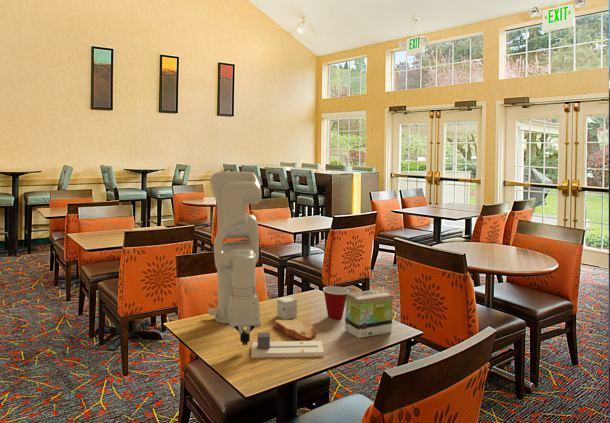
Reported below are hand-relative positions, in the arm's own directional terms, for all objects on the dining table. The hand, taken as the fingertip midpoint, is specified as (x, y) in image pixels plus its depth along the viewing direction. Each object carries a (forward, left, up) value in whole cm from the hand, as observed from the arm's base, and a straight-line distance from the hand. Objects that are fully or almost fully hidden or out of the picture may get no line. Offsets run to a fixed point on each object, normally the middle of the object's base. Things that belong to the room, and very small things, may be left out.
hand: (245, 343), depth 170 cm
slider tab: (+6, 0, -1) cm, 6 cm away
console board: (+14, 0, -3) cm, 15 cm away
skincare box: (+14, +36, -3) cm, 39 cm away
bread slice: (+17, +19, -4) cm, 25 cm away
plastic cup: (+34, +34, -3) cm, 48 cm away
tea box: (+45, +17, -3) cm, 48 cm away
